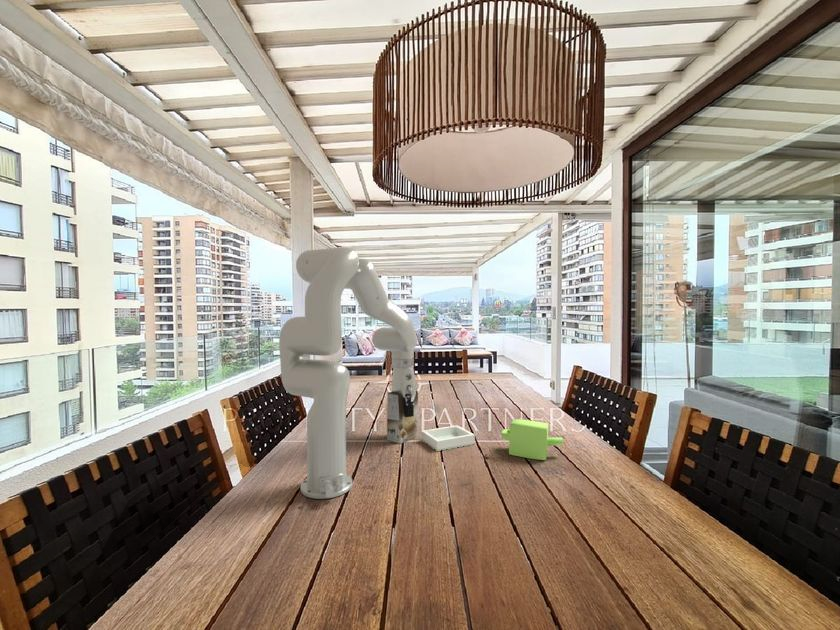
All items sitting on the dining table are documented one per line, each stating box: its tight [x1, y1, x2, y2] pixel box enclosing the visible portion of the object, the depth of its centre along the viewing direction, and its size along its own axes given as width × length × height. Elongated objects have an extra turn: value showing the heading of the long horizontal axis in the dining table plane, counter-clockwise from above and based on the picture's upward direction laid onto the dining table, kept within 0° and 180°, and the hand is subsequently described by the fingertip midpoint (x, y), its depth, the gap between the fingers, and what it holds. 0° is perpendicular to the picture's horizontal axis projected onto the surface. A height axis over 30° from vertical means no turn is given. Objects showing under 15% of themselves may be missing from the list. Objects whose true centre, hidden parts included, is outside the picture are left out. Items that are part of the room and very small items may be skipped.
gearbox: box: [501, 418, 564, 461], centre depth 118 cm, size 18×10×10 cm, turn 68°
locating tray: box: [421, 425, 476, 452], centre depth 127 cm, size 11×14×3 cm
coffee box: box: [386, 390, 419, 445], centre depth 131 cm, size 9×6×16 cm
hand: (403, 412), depth 131 cm, fingers open, 9 cm apart
